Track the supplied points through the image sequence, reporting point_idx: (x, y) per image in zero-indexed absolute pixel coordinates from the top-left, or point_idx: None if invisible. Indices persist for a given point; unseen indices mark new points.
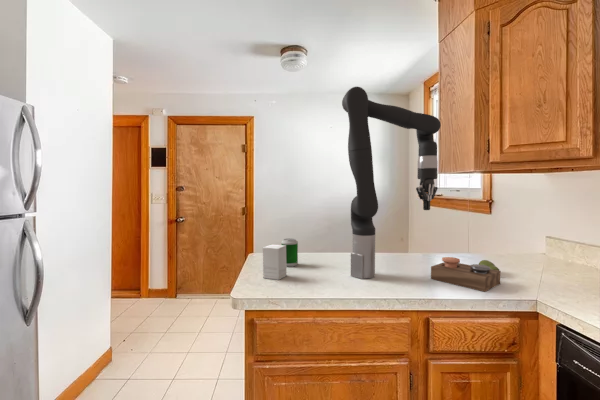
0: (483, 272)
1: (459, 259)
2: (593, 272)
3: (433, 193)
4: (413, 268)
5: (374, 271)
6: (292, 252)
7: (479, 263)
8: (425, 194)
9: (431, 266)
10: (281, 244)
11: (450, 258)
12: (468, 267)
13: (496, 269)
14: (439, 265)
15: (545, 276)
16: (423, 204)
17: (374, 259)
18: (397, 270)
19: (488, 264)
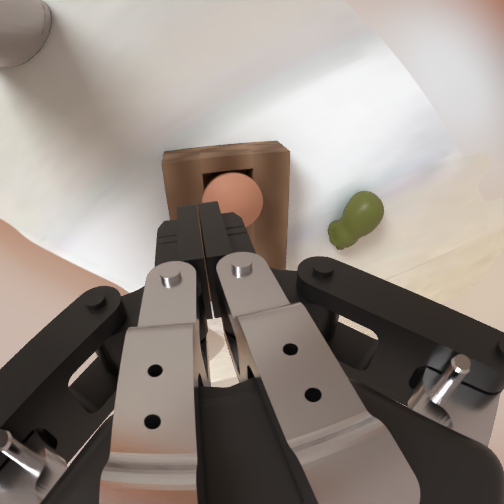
0: None
1: (248, 224)
2: (450, 298)
3: (353, 378)
4: (233, 39)
5: (23, 58)
6: None
7: (362, 202)
8: (103, 412)
9: (162, 165)
10: None
11: (237, 200)
12: (254, 233)
13: (341, 245)
14: (199, 171)
15: (394, 281)
16: (156, 250)
17: (2, 59)
18: (159, 25)
19: (353, 229)
